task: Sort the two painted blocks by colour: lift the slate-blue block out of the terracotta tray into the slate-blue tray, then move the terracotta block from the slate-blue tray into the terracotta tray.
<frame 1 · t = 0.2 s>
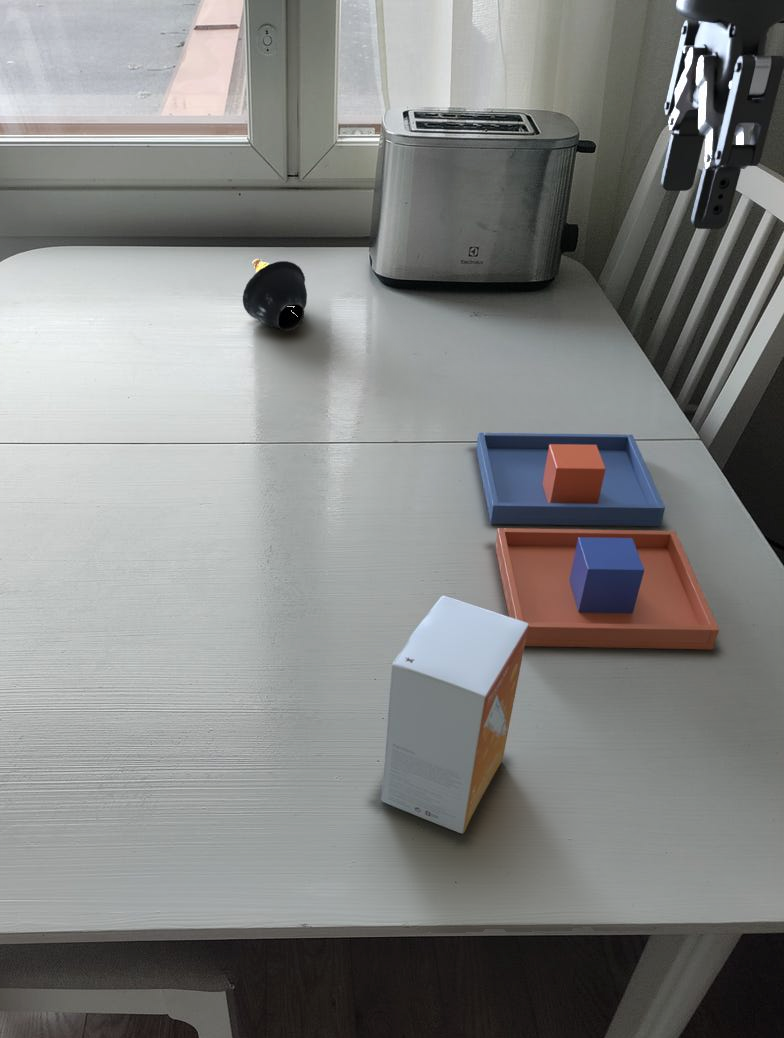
hand: (690, 207, 70), 31 cm above the table, tool pointing down, fingers open, 8 cm apart
blue block: (600, 596, 86), point 1 cm above the table, touching clay tray
fried shrimp in bowl: (273, 313, 135), on the table
small box: (443, 782, 71), on the table
clay tray: (596, 594, 87), on the table
blue tray: (563, 486, 101), on the table
clay block: (569, 497, 98), point 1 cm above the table, touching blue tray
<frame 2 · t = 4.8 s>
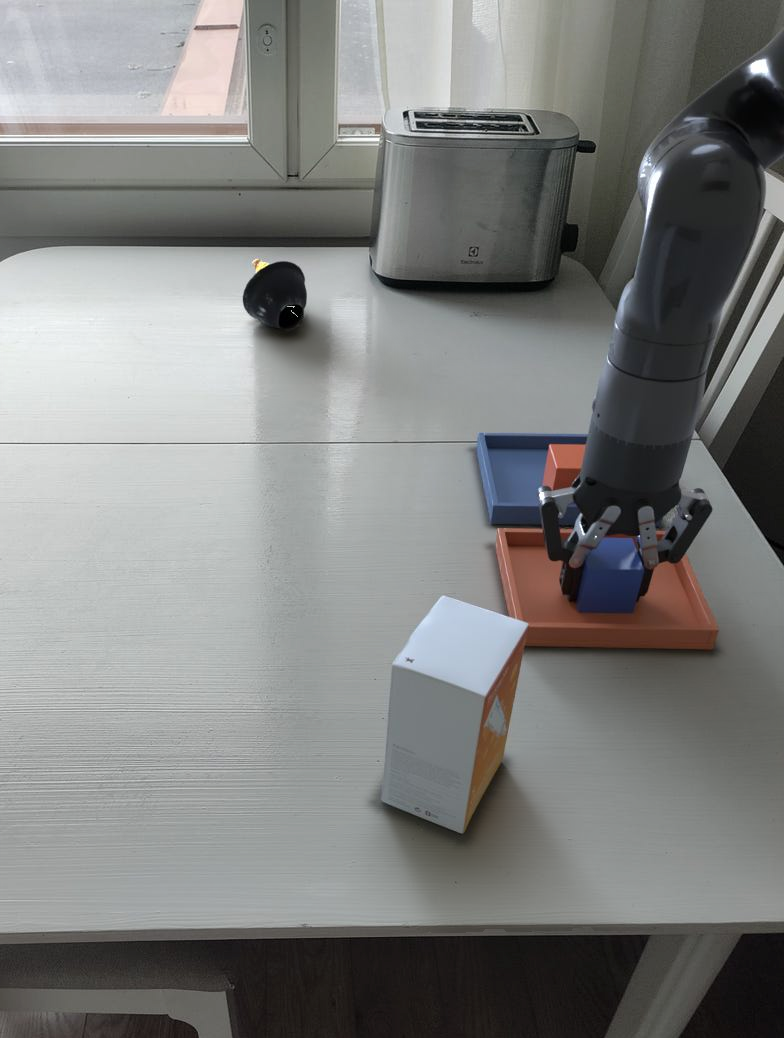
hand: (601, 595, 86), 1 cm above the table, tool pointing down, fingers closed on blue block, 4 cm apart
blue block: (600, 596, 86), point 1 cm above the table, touching clay tray, gripper
everything else where it was.
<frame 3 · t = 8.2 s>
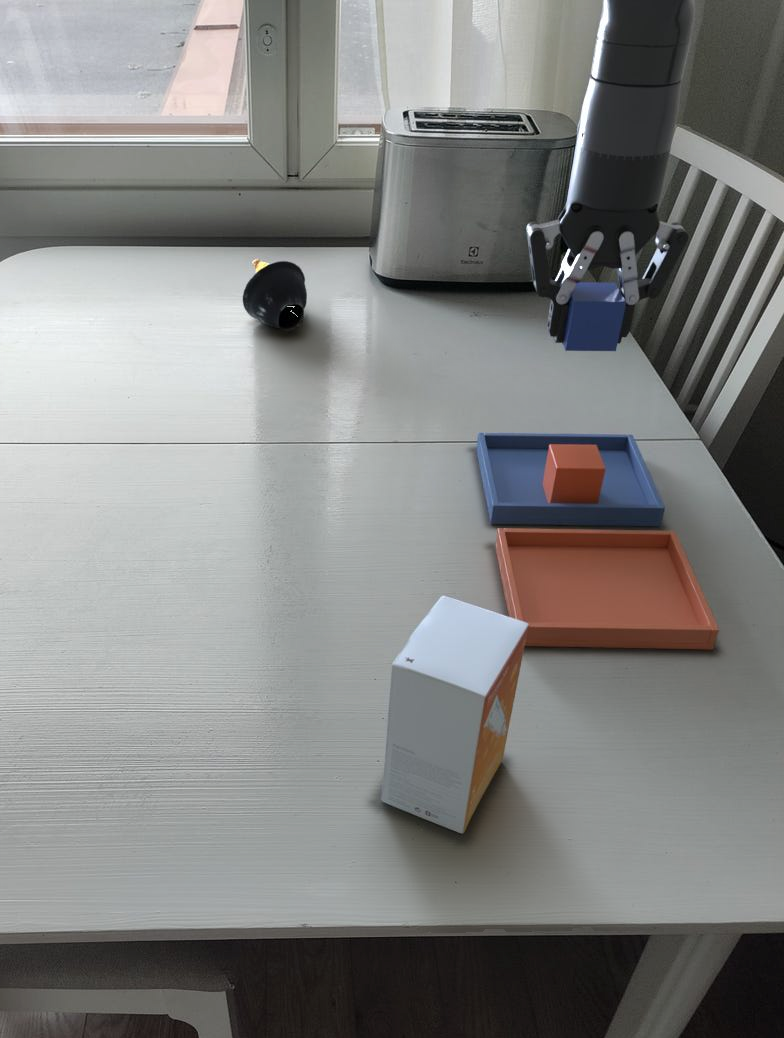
hand: (586, 339, 92), 15 cm above the table, tool pointing down, fingers closed on blue block, 4 cm apart
blue block: (585, 340, 92), point 15 cm above the table, touching gripper
everything else where it was.
when the fingers open (1 cm above the table, at t = 11.8 s): blue block stays where it is, resting on blue tray.
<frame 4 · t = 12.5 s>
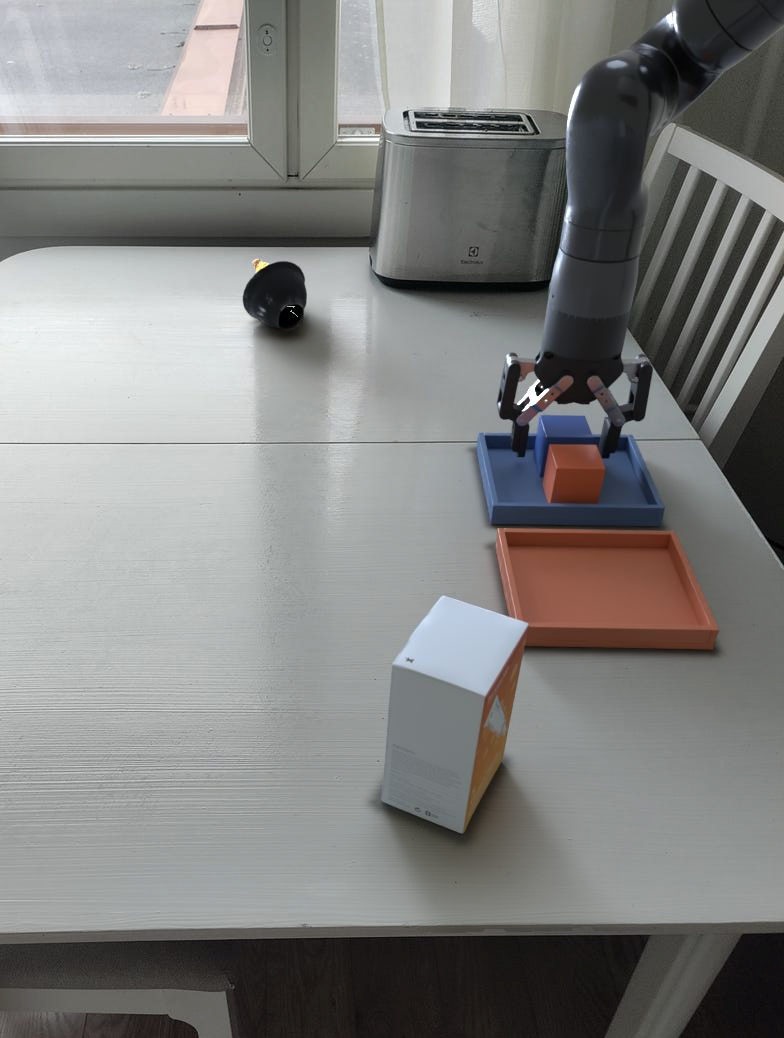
hand: (561, 454, 102), 2 cm above the table, tool pointing down, fingers open, 8 cm apart
blue block: (558, 466, 102), point 1 cm above the table, touching blue tray
everything else where it was.
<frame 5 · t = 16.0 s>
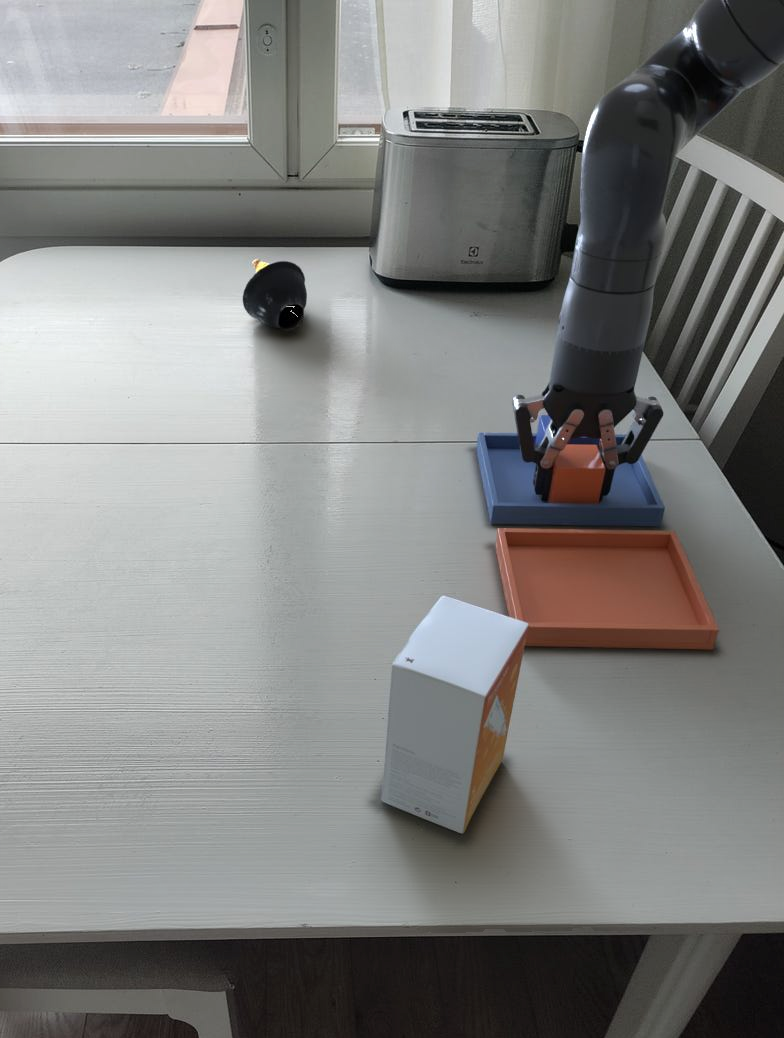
hand: (569, 495, 98), 1 cm above the table, tool pointing down, fingers closed on clay block, 4 cm apart
clay block: (569, 497, 98), point 1 cm above the table, touching blue tray, gripper
everything else where it was.
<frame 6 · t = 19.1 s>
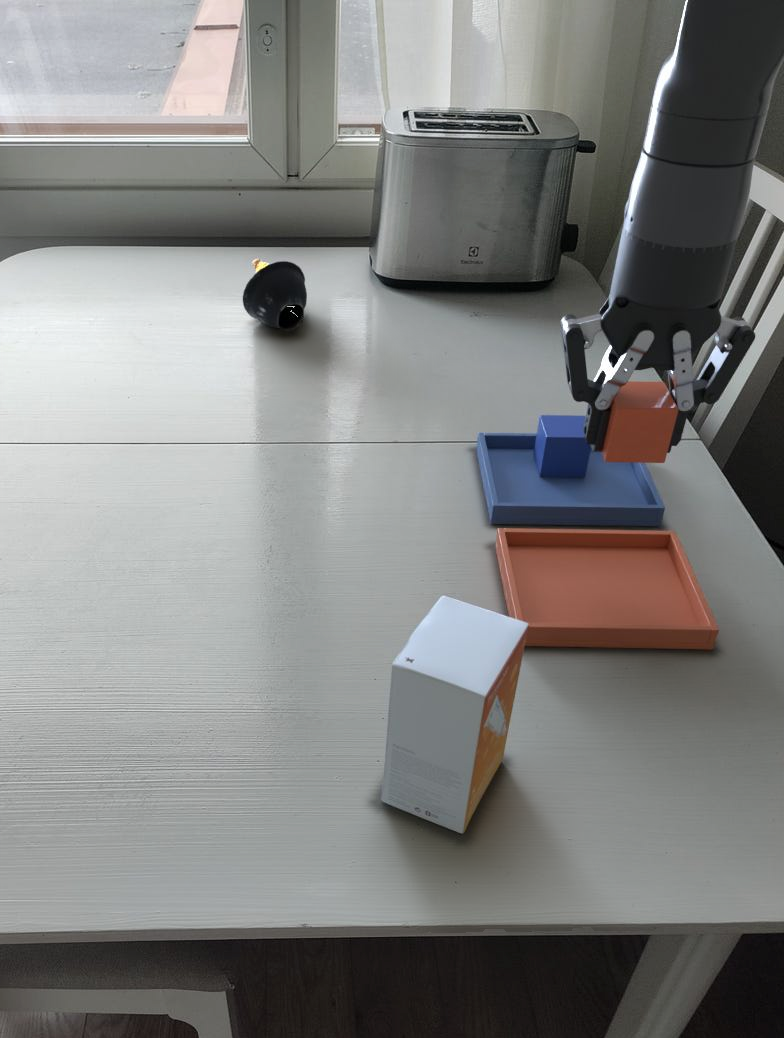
hand: (629, 446, 78), 14 cm above the table, tool pointing down, fingers closed on clay block, 4 cm apart
clay block: (628, 448, 78), point 14 cm above the table, touching gripper
everything else where it was.
when the fingers open (1 cm above the table, at t = 22.5 s): clay block stays where it is, resting on clay tray.
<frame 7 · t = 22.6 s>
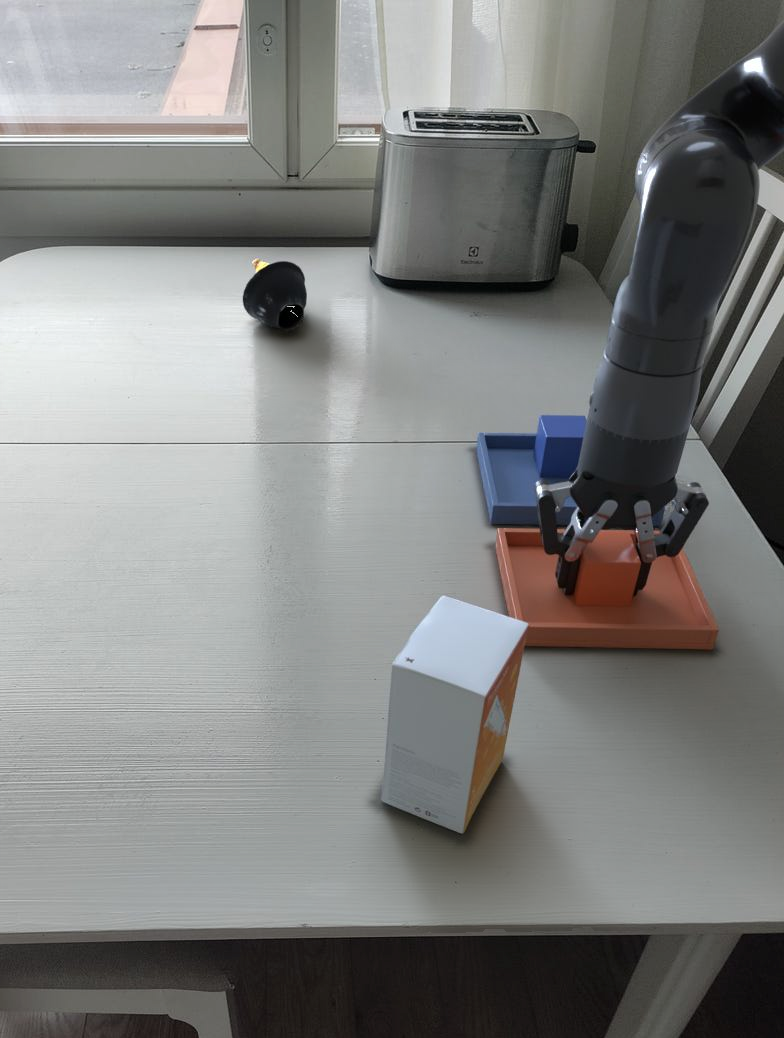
hand: (598, 588, 86), 1 cm above the table, tool pointing down, fingers open, 5 cm apart
clay block: (597, 589, 86), point 1 cm above the table, touching clay tray
everything else where it was.
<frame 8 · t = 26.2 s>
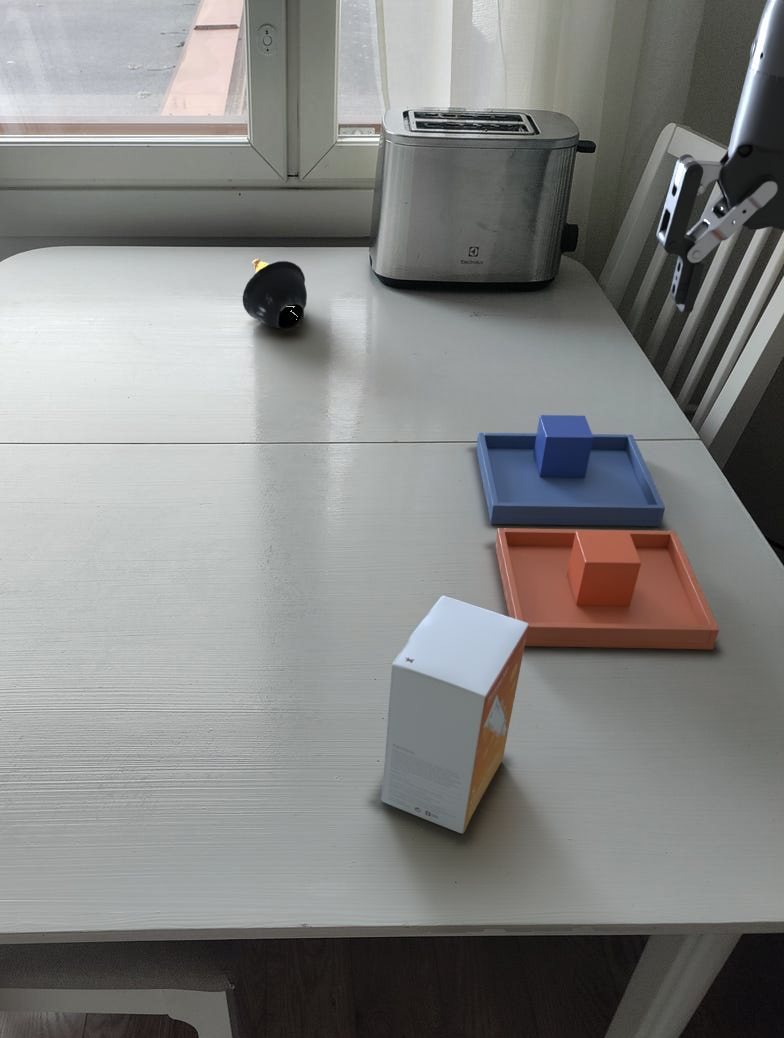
hand: (741, 309, 74), 24 cm above the table, tool pointing down, fingers open, 8 cm apart
nothing on the table moved.
at the end: blue block inside the target area in the blue tray (3.0 cm from its centre), point 0.6 cm above the blue tray's base; clay block inside the target area in the clay tray (0.1 cm from its centre), point 0.6 cm above the clay tray's base; blue block tilted 0° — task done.
